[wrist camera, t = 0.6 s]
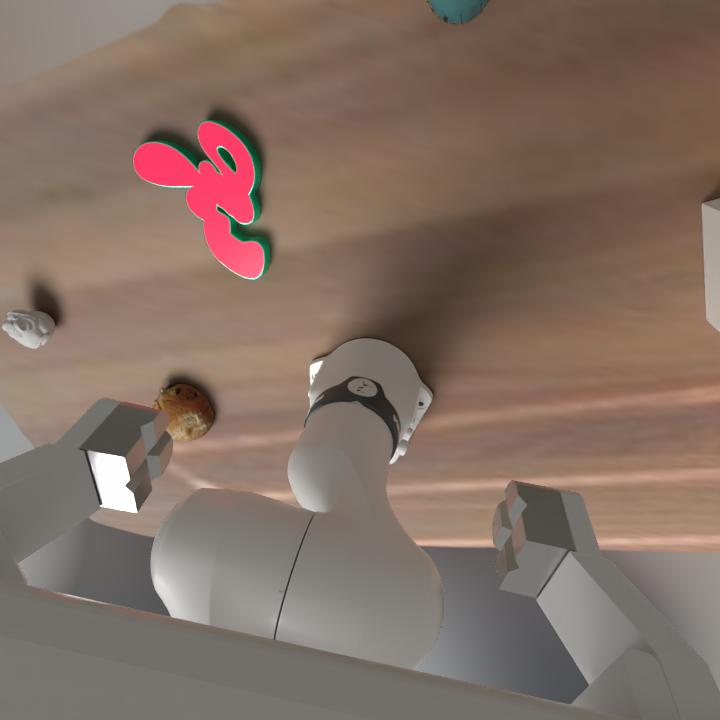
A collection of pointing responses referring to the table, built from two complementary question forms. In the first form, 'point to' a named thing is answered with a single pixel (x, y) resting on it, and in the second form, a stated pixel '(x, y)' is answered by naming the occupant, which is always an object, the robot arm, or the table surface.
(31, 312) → the frog figurine
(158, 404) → the bread roll
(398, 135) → the table surface
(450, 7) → the beverage bottle
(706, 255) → the off-white stand
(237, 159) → the pink curvy flat shape
